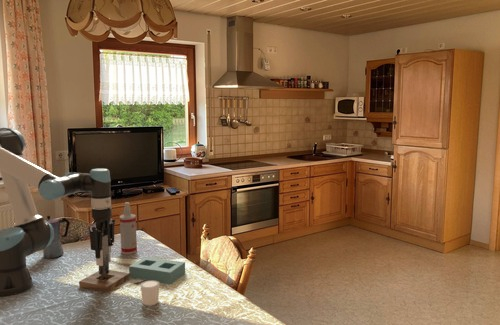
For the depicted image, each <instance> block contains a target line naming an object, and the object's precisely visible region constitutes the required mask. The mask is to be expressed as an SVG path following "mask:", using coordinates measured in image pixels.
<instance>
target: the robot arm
mask: <svg viewBox="0 0 500 325" xmlns="http://www.w3.org/2000/svg"><path fill="white" fill-rule="evenodd" d="M25 146H26V140H25V137H24V136H23V134H22V133H21V132H20V131H19V130H17V129H15V128H12V127H10V128H9V127H0V177H1V180H2V182H3V187H4V188H5V192H6V195H7V198H8V200H9V203H10V207H11V210H12V212H13V216H14V218H15V219H14V220H15V222H14V224H13V226H12V227H7V228H3V229H1V230H0V297H8V296H13V295H17V294H21V293H24V292H25V291H27V290H30V289H31V288H32V287H33V284H34V283H33V278H32V276H31V274H30V271H29V269H28V268H27V257H28V256H31V255H33V254H35V253H36V252H39V251H43V249H44V248H46V247H47V246H49V245H50V244H51V243H52V241H53V238H54V229H53V227H52V225H51V224H49V222H47V221H44V220H45V218H44V216H43V215H42V214H41V215H40V214H38V213H39V212H38V210H37V207H36V204H35V200H34V198H33V195H32V192H31V188H30V187H32V188H34V189H37V190H38V193H39V195H40V196H41V197H42V199H43V200H47V201H53V200H58V199H61V198H65V197H67V196H70V195H74V194H77V193H90V202H91V203H90V204H91V217H92V219H93V223H92V225H91V226H90V225H89V226H88V228H87V229H88V232H89V242H90V244H89V245H90V250H91V251H94V254H95V256H94V257H95V262H96V266H98V267H99V266H103V250H101V244H102V234H108V254H109V263H110V262H111V261H112V258H111V252H112V250H111V248H112V247H113V245H114V242H115V223H116V219H113V218H111V217H112V214H113V213H112V193H111V182H112V179H111V173H110V170H109V169H108V168H92V169H91V170H90V171H89V173H85V172H83V173H82V172H75V171H73V172H66V173H64V175H63V176H57V175H54V174H53V173H51V172H49V171H47V170H45V169H43V168H41V167H40V166H38V165H36V164H33V163H32V162H31V161H28V160H27V159H25V158H23V157H24V155H23V154H24V153H23V152H24V150H25Z"/></svg>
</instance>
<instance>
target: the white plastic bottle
mask: <svg viewBox="0 0 500 325" xmlns="http://www.w3.org/2000/svg"><path fill="white" fill-rule="evenodd" d="M130 205H131V204H130V202H129V201H126V202H124V209H123V214H121V215H119V229H120V230H119V231H120V249H121V250H120V252H121V254H122V253H123V255H131V254H132V253H133V254H135V253H137V252H138V244H137V243H138V241H137V239H138V238H137V222H136V221H137V219H136V217H137V216H136V214H133V213H132V211H131V206H130Z"/></svg>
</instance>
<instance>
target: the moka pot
mask: <svg viewBox="0 0 500 325" xmlns="http://www.w3.org/2000/svg"><path fill="white" fill-rule="evenodd" d="M44 221H47V222H49V224H51V225H52V227H53V229H54V238H53V241H52V243H51V244H50V245H49V246H47V247H46V248H44V249H43V250H42V252H43V255H42V256H43V258H44V259H54V258H58V257H60V256H62V255H64V249H63V246H62V242H61V240H60V237H61V238H66V237H67V235H68V231H69V229H70V228H69V227H70V223H71V222H70V221H69V220H68V219H67V218H66V217H64V218H51V215H47V216H46V219H44ZM65 222H66V224H65V225H66V226H65V231H64V234H63V235H61V224H62V223H65ZM60 235H61V236H60Z"/></svg>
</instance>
